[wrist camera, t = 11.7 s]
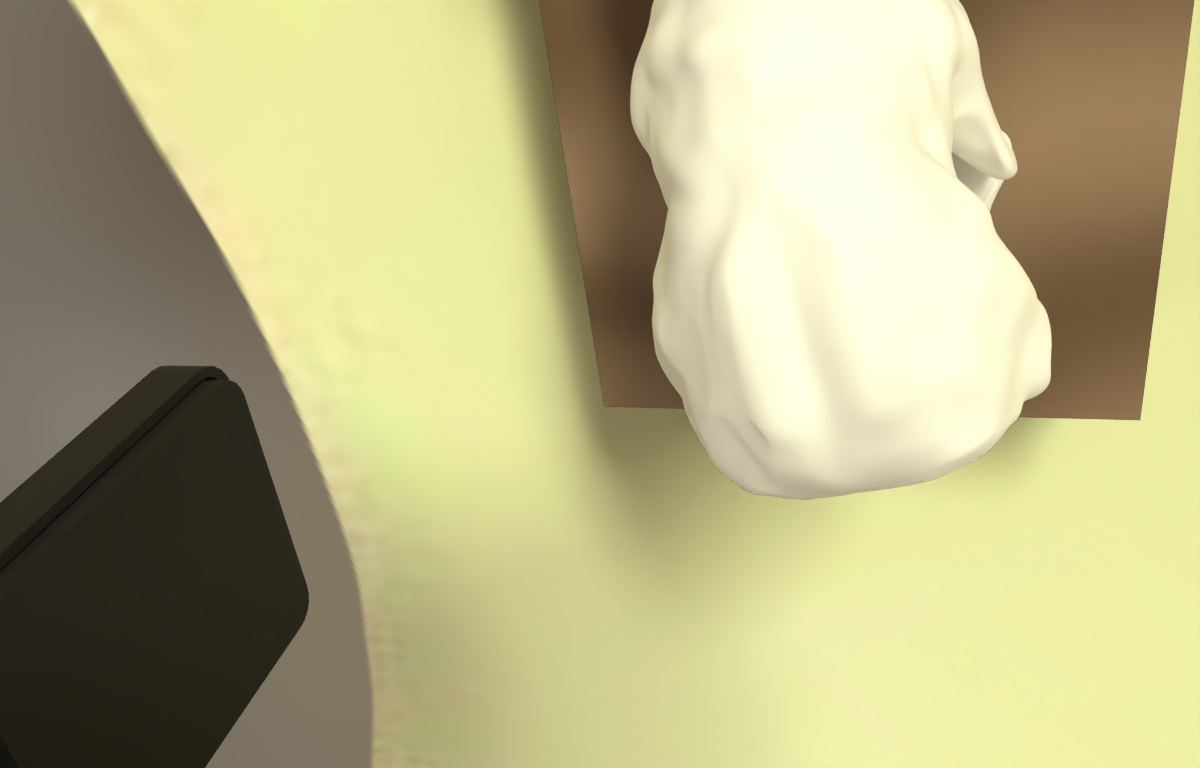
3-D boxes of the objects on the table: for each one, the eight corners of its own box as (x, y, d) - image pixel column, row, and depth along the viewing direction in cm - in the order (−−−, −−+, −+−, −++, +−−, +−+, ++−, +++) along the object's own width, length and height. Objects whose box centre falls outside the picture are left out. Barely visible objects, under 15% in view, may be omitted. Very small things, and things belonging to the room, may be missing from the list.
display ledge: (1115, 318, 28) (1160, 506, 22) (644, 317, 32) (570, 480, 26) (1220, -633, 19) (1345, -759, 13) (537, -490, 22) (382, -535, 16)
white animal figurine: (666, 577, 18) (375, -211, 14) (754, 352, 26) (579, -215, 21) (1083, 530, 16) (885, -442, 12) (1052, 296, 23) (922, -359, 19)
